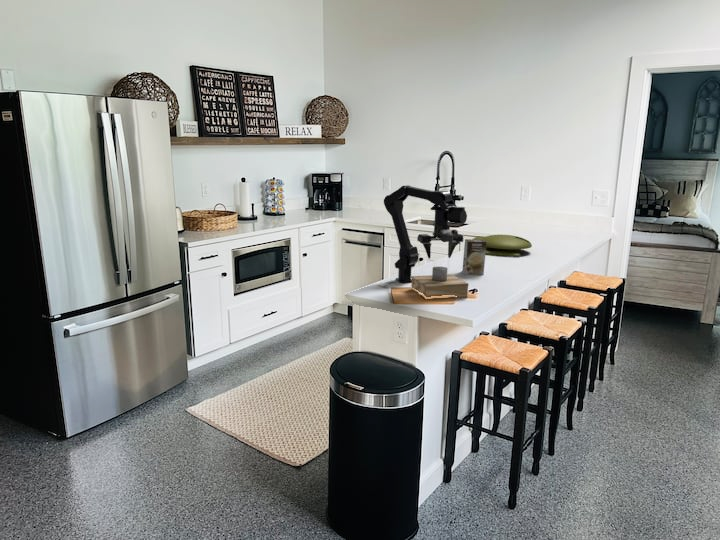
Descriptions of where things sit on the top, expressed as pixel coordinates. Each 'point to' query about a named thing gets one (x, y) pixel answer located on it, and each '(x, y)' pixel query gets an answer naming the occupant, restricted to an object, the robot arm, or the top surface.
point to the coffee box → (474, 257)
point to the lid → (429, 282)
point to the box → (441, 290)
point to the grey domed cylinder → (439, 274)
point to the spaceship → (504, 244)
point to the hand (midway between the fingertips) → (439, 258)
